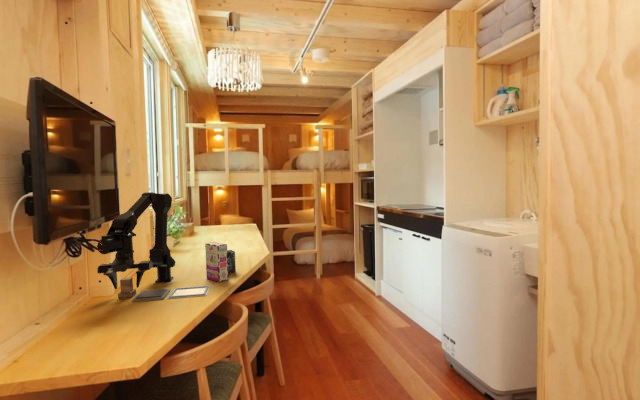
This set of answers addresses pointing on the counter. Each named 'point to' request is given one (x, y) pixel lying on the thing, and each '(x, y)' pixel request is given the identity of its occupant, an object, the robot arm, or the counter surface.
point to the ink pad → (151, 295)
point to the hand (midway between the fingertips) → (127, 288)
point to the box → (231, 261)
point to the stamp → (126, 288)
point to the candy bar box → (216, 261)
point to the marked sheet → (189, 292)
